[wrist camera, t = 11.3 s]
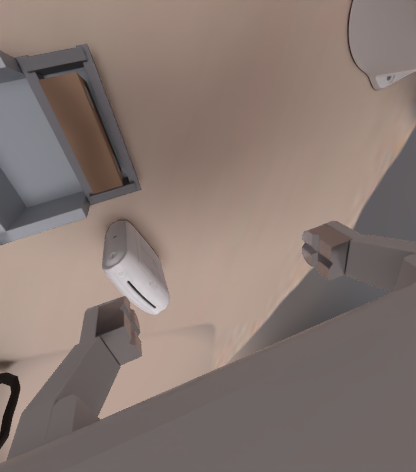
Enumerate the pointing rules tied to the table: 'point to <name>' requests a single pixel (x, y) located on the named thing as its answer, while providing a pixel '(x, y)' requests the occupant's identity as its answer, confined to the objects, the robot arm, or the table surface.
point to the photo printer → (134, 268)
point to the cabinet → (48, 147)
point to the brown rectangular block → (83, 130)
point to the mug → (9, 404)
